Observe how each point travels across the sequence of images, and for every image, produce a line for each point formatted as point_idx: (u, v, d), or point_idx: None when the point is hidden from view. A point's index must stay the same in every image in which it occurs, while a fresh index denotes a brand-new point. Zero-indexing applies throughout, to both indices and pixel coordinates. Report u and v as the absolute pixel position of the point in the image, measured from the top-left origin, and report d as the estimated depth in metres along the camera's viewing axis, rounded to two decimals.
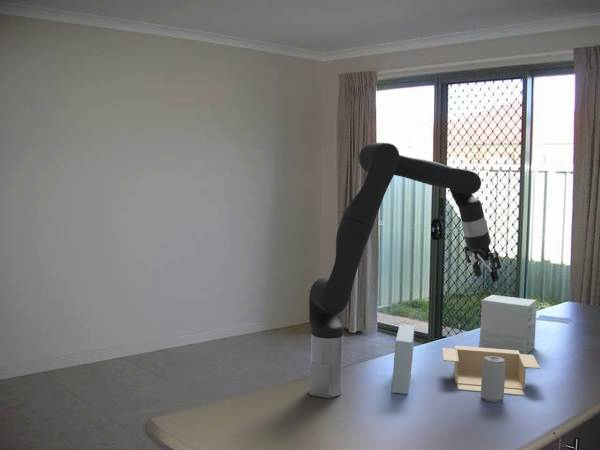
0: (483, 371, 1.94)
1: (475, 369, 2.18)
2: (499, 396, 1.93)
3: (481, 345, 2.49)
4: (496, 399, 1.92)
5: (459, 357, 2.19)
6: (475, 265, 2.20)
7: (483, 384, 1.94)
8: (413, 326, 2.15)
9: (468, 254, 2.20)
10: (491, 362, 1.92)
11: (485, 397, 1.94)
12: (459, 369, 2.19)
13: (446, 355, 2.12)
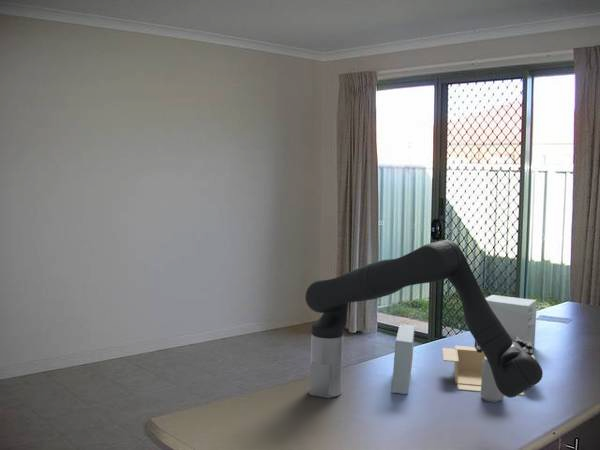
0: (483, 371, 1.94)
1: (475, 369, 2.18)
2: (499, 396, 1.93)
3: None
4: (496, 399, 1.92)
5: (459, 357, 2.19)
6: None
7: (483, 384, 1.94)
8: (413, 326, 2.14)
9: None
10: None
11: (485, 397, 1.94)
12: (459, 369, 2.19)
13: (446, 355, 2.12)
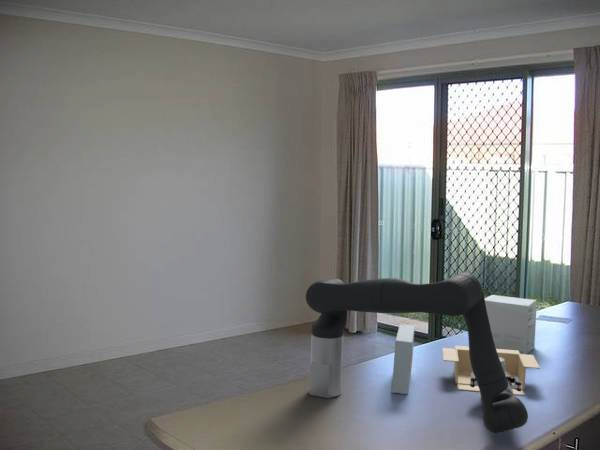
0: None
1: None
2: None
3: None
4: None
5: (459, 357, 2.19)
6: None
7: None
8: (413, 326, 2.14)
9: (515, 380, 1.89)
10: None
11: None
12: (459, 369, 2.19)
13: (446, 355, 2.12)
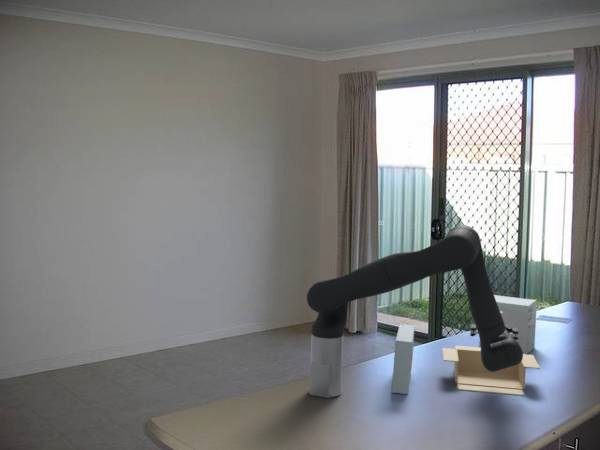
0: None
1: (475, 369, 2.18)
2: None
3: None
4: None
5: (459, 357, 2.19)
6: None
7: None
8: (413, 326, 2.15)
9: (512, 330, 2.01)
10: None
11: None
12: (459, 369, 2.19)
13: (446, 355, 2.12)
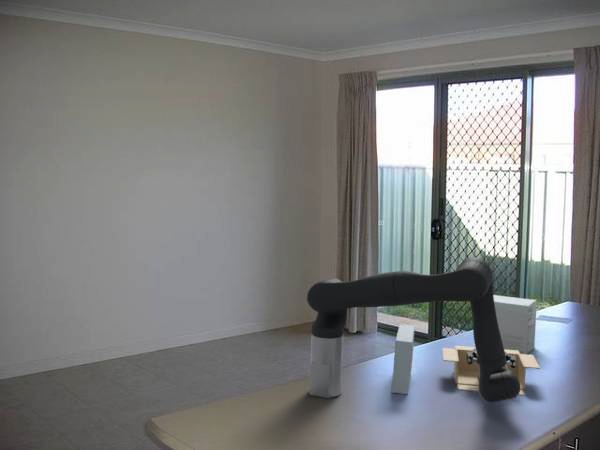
0: None
1: (475, 369, 2.18)
2: None
3: None
4: None
5: (459, 357, 2.19)
6: None
7: None
8: (413, 326, 2.14)
9: (511, 358, 2.04)
10: None
11: None
12: (459, 369, 2.19)
13: (446, 355, 2.12)
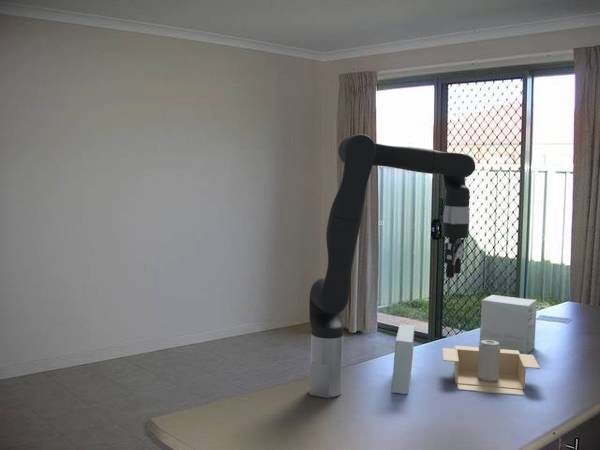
0: (479, 353, 2.10)
1: (475, 369, 2.18)
2: (494, 377, 2.08)
3: None
4: (491, 379, 2.08)
5: (459, 357, 2.19)
6: (455, 260, 2.06)
7: (479, 365, 2.10)
8: (413, 326, 2.15)
9: None
10: (487, 345, 2.07)
11: (481, 377, 2.09)
12: (459, 369, 2.19)
13: (446, 355, 2.12)
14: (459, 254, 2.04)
